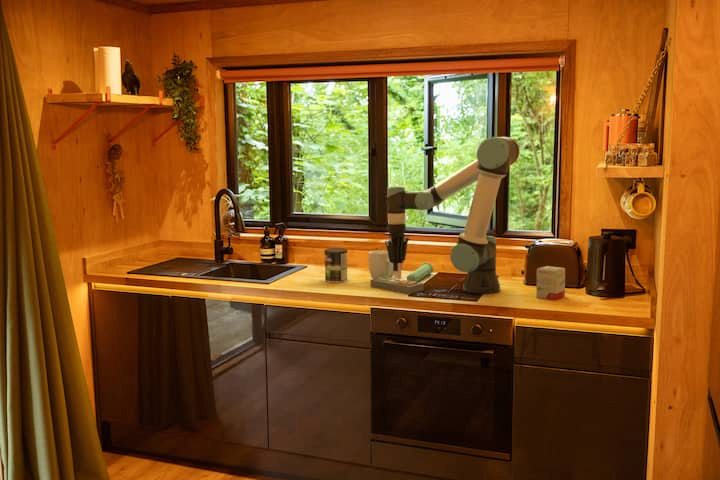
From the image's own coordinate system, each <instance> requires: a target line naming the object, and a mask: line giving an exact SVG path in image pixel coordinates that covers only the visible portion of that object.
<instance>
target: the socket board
mask: <svg viewBox="0 0 720 480" xmlns="http://www.w3.org/2000/svg"><path fill="white" fill-rule="evenodd" d="M393 278H394V277H393ZM394 279H396V278H394ZM404 280H405V281H407V279H404ZM424 286H425V285H424V283H423V282H419V281H418V282H417V284H414V285H410V286H408V285H403V284H400V283H398V284H397V283H391V282H388V281H386V282H385V281H380V280H377V279H370V288H376V289H381V290H386V291H391V292H398V293H403V294H407V295H411V294H414V293H420V292H422V291H424V290H425V289H424Z"/></svg>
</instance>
